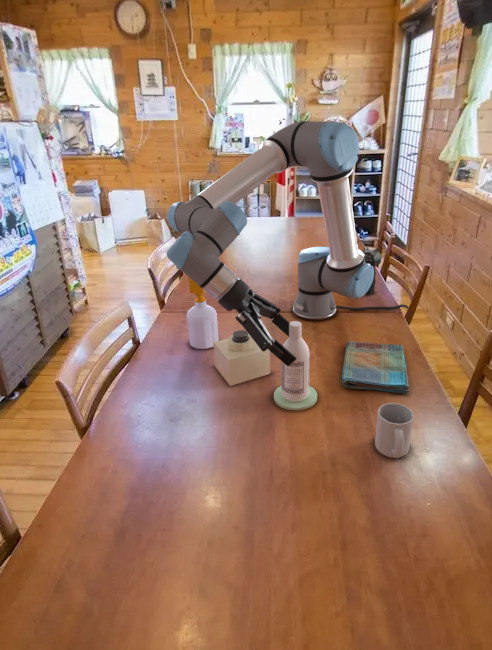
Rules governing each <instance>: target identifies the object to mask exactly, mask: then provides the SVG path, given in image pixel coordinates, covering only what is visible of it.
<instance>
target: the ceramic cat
mask: <svg viewBox="0 0 492 650" xmlns="http://www.w3.org/2000/svg"><path fill="white" fill-rule="evenodd" d="M360 242H361V243H363V244H364V245H366V242H365V241H364V240H363V239H359V240H357V244H359V243H360ZM361 251H362V252H363V254H364V260H365V263H369V264H370V265H372V266H373V268H374V278H373V281H372V284H371V286H370V288H369V290H368V291H367V292H366V293H365V294H366V295H372V294H373V293H375V288H376V283H377V281H376V275H377V272H376V268H375V267H378V266H379V265H380V264H381V263H382V254H381V253H380V250H379V247H377V248H375V249H369V247H368V246H367V247H364V248H363V250H361Z"/></svg>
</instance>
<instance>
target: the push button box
mask: <svg viewBox="0 0 492 650" xmlns="http://www.w3.org/2000/svg"><path fill="white" fill-rule="evenodd" d="M213 357H214V368H216V370H217V371H218V372H219V374H220V375H221V376H222V377H223V379H224V380H225V381H226V382H227V383H228V385H229V386H230V387H232V386H235V385H238V384H241V383H246V382H248V381H252V380H254V379H258V378H260V377H261V378H262V377H265V376H268V375H270V374H271V351H269V350H268V349H267V350H266V351H265V352H263V351H262V350H261V349H260V348H259V346H258V345H257V344H256V343H255V341H254V340H253V339H252V337H251V336H250V335H249V334H248V341H247V342H244V343H236V342H234V341H233V334H231V335H230V336H228V338H224V339H219V341H216V342H213Z"/></svg>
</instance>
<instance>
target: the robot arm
mask: <svg viewBox="0 0 492 650" xmlns="http://www.w3.org/2000/svg"><path fill="white" fill-rule="evenodd" d="M359 154H360V142H359V138H358V135H357V133H356V131H355V129H354V128H353V127H352V126H351V125H349V124H347V123H345V122H338V121H335V120H329V121H309V120H301V121H296V122H293V123H290V124H288V125H285V126H284V127H282V128H281V129H278V130H277V131H275V132H274V133H273V134H271V135H270V136H268V137H267V138H265V139H264V140H263V141H262V142H261V143H260V145H259V148H258V149H257V150H256V151H254V152H253V153H252V154H251V155H249V156H248V157H246V158H245V159H244V160H242V161H241V162H240V163H238V164H237V165H236V166H234V167H233V168H231V169H230V170H229V171H228V172H226V173H225V174H223V175H222V176H221V177H219V178H218V179H217V180H215V181H214V182H213V183H211V184H210V185H209V186H207V187H206V188H204V189H203V190H202V191H201V192H199V193H198V194H196V195H195V196H193V197H192V198H191V199H189V200H188V201H176V202H174V203H172V204H171V205H170V207H169V208H168V210H167V214H166V220H167V223H168V225H169V227H170V229H172V230H174V231H176V232H178V233H179V234H180V236H179V237H178V238H177V239H176V240H175V241H174V242H173V244H171V246H170V247H169V248H168V249H167V251H166V257H167V259H168V260H169V261H171V263H172V264H174V266H175V267H176V268H177V269H178V270H179V271H180V272H182V273H183V274H184V275H186V276H187V277H188V279H189V278H191V279H192V280H193V281H194V282H195V283H197V284H198V285H199V286H200V287H201V288H202V289H203V290H204V292H205V294H207V295H208V296H210V297H211V298H212V299H213V300H217V303H218V304H219V305H220V306H221V307H222V308H224V310H225V311H227V312H232V311H233V310H235V311H236V312H237V313H238V314H237V315H236V316H235V320H236V321H237V322H238V323H239V324H240V325H241V326H242V327H243V329H244V331H247V332H248V334H249V335H250V336H251V337H252V339H253V340H254V341H255V343H256V344H257V345H258V346H259V348H260V349H261V350H262V351H263V352H265V351H266V350H267V349H268V350H269V351H270V353H272V354H273V355H274V356H275V357H276V358H277V359H278V360H280V362H281V361H282V362H283V363H284V364H286V365H287V366H289V365H290V364H292V363H293V362H294V361H295V360H296V357H295V356H294V355H293V354H292V353H290V352H289V351H288V350H287V349H286V348H285V347H284V346H283V345H284V344H282V343H280V342H279V341H278V340H277V339H274V338H273V337H272V335H271V334H270V331H268V328H267V327H266V326H265V324H264V322H263V321H262V317H264V318H267V319H270V320H271V322H272V324H274V325H275V326H276V327H277V328H278V329H279V330H280V331H281V332H283V333H284V334H285V335H286V336H287V337H288V338H289V323H290V322H289V320H287V318H285V317H284V316H283V315H282V314H280V312H282V310H281V308H280V307H278V306H277V305H276V304H274V303H273V302H271V301H270V300H268V299H266V298H264V297H263V296H260V295H259V294H258V293H256V292H255V291H253V290H252V289H251V288H250V286H249V285H248V284H247V283H246V282H245V281H244V280H243V279H241V277H237V273H236V272H234V271H233V270H232V269H231V268H230V267H228V265H226V264H225V262H223V261H222V260H221V259H219V258H220V257H221V256H222V255H223V253H224V252H225V251H226V250H227V249H228V248H229V246H230V245H231V244H232V243H233V242H234V241H235V240H236V239H237V237H238V236H240V235H241V232H243V230H244V228H245V227H246V226H247V224H248V217H247V215H246V213H245V211H244V210H243V209H242V208H241V207H240V206H239V205H237V203H239V202H240V201H241V200H243V198H245V197H247V195H249V194H250V193H251V192H253V191H254V190H255V189H257V188H259V186H260V185H262V184H263V183H264V182H266V181H267V180H268V179H269V178H271V177H272V176H273V175H275V174H282V173H283V172H285V171H286V170H287V169H289V168H293V167H305V168H308V171H309V173H308V174H309V177H310V180H311V181H312V182H314V183H315V184H316V185H317V189H318V196H319V200H320V206H321V213H322V215H323V216H322V217H323V223H324V228H325V234H326V238H327V239H326V240H327V245H328V246H311V247H308V248H305V249H302V250H301V251H300V252H299V253H298V260H297V286H298V287H297V294H296V296H295V299H294V302H293V305H292V313H293V315H294V316H295V317H297V318H298V319H302V320H304V321H310V322H311V321H314V322H320V321H325V320H329V319H331V318H333V317H335V316H336V314H337V309H340V310H349V311H362V310H363V311H364V310H396V309H400V308H405V309H407V310H408V309H410V307H409V306H408V305H407V304H398V305H395V306H361V307H360V306H359V307H351V306H345V305H344V306H343V305H337V304H336V302H335V297H334V294H338V295H341V296H343V297H345V298H351V299H354V300H357V299H360V298H362V297H364V296H365V295H366V294H367V293H366V292H367V291H368V290H369V288H370V286H371V284H372V281H373V278H374V268H373V266H372V265H370V264H369V263H365V260H364V254H363V252H362V251H363V250H361V249H360V248H359V247H358V243H357V242H358V240H357V233H356V232H357V231H356V226H355V217H354V211H353V203H352V196H351V188H350V181H349V177H350V176H351V174H352V173H353V171H354V170H353V168H354V167H355V166H356V164H357V162H358V159H359V157H358V155H359ZM333 293H334V294H333Z"/></svg>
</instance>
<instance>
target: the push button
mask: <svg viewBox="0 0 492 650" xmlns="http://www.w3.org/2000/svg"><path fill="white" fill-rule="evenodd" d="M232 335H233V341H234V342H236V343H244V342H247V341H248V332H247V331H246V330H245V329H239V330H235V331H233V333H232Z"/></svg>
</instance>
